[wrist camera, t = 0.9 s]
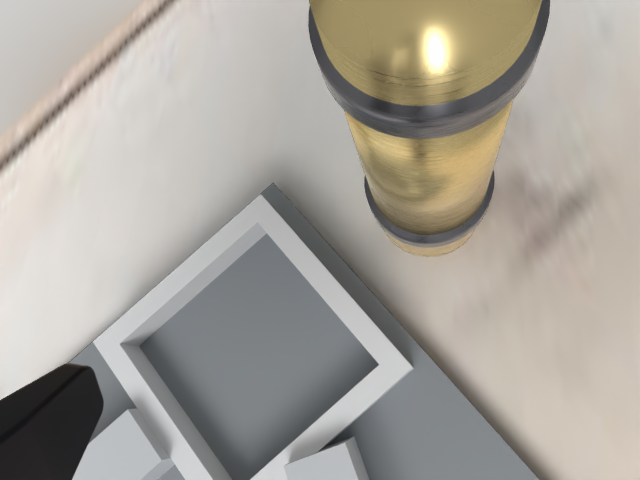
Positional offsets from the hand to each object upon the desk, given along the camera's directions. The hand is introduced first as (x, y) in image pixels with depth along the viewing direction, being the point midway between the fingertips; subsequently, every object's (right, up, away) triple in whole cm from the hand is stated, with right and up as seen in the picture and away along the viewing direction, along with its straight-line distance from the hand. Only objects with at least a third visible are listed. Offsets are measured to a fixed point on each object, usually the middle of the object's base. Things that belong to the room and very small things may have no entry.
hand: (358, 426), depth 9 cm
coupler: (+4, +4, +14) cm, 15 cm away
